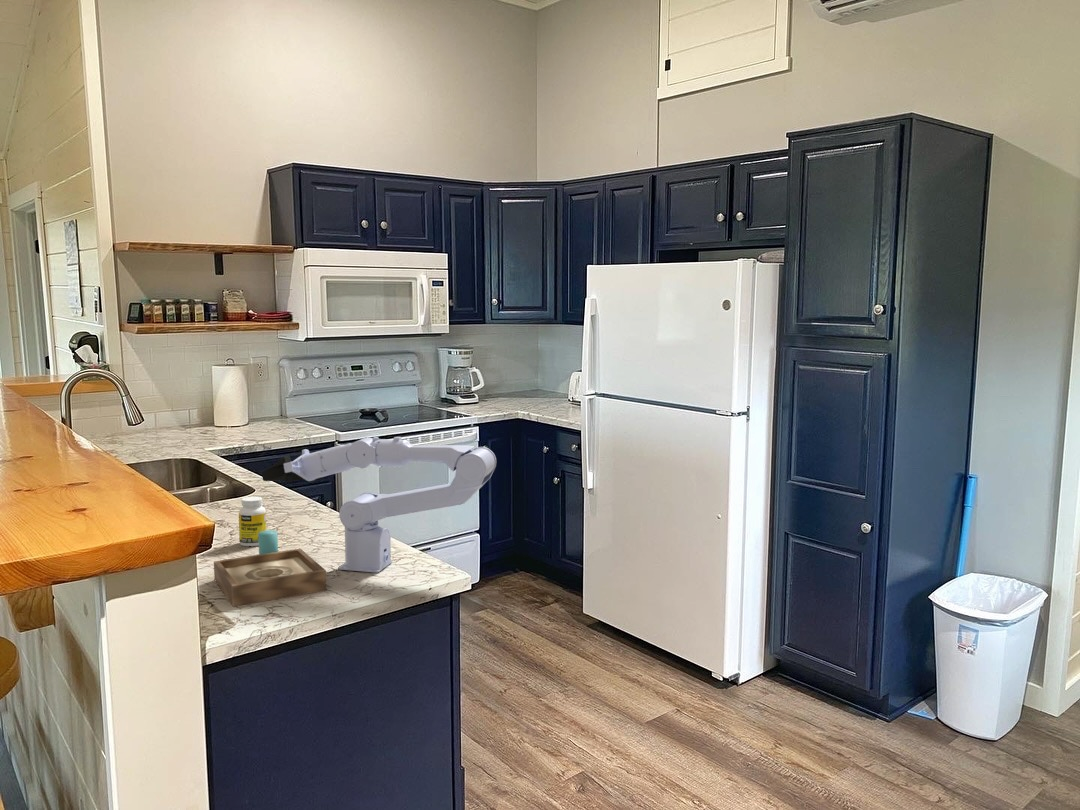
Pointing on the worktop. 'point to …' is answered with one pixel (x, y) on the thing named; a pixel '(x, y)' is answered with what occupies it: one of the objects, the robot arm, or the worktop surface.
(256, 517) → the pill bottle
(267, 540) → the peg
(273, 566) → the walnut box
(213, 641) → the worktop surface
